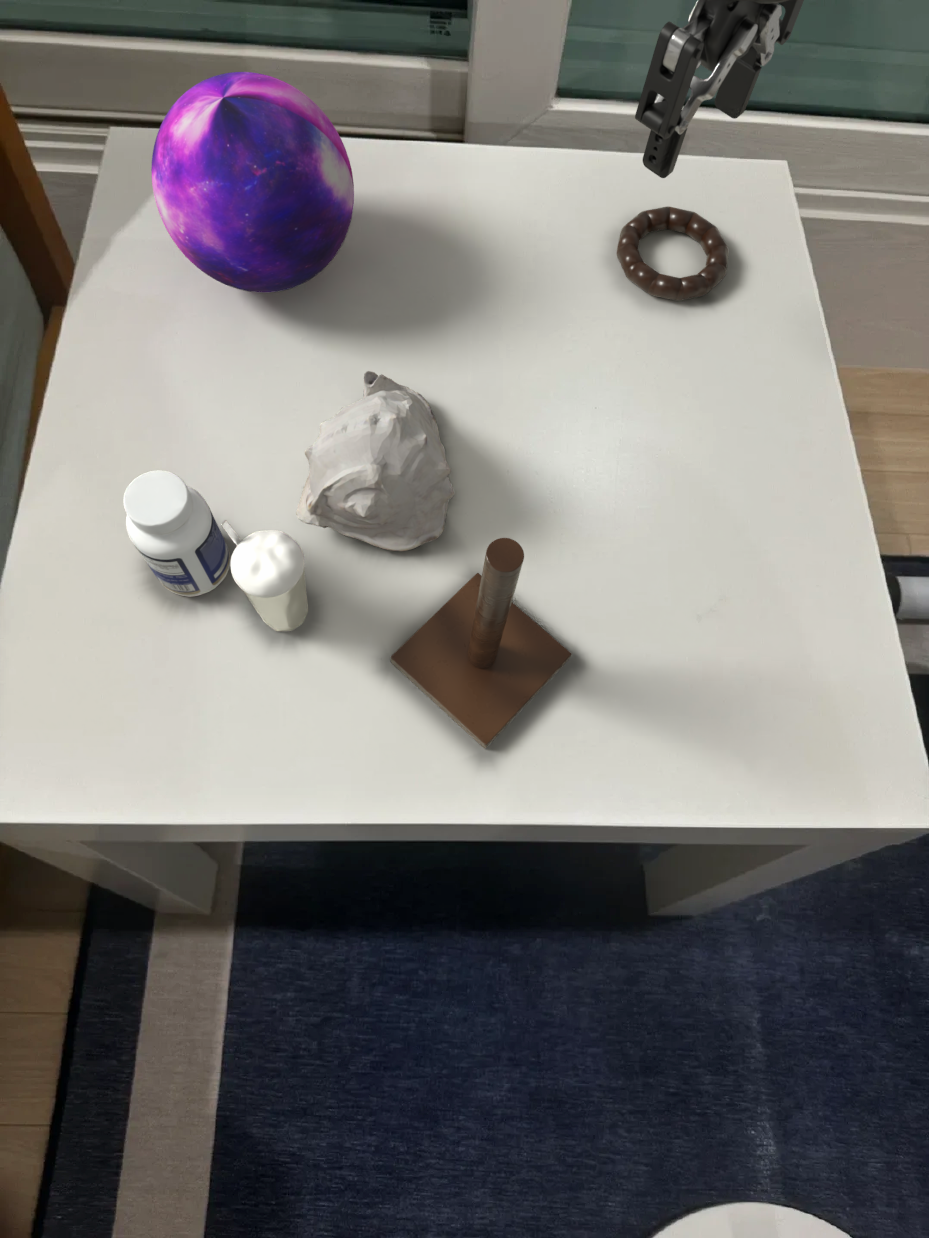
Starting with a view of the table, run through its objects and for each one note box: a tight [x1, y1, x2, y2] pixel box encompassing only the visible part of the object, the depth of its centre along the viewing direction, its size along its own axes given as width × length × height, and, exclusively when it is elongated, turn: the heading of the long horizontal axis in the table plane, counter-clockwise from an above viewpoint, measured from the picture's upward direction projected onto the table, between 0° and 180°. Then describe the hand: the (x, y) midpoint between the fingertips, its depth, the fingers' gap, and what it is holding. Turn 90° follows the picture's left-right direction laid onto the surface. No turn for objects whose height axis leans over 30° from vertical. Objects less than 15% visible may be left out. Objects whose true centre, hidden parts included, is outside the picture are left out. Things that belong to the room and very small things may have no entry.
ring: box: [616, 206, 730, 302], centre depth 74 cm, size 10×10×2 cm
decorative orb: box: [150, 71, 355, 294], centre depth 65 cm, size 15×15×15 cm
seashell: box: [295, 370, 455, 552], centre depth 61 cm, size 12×14×10 cm
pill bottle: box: [122, 469, 231, 597], centre depth 57 cm, size 5×5×10 cm
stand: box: [389, 537, 573, 750], centre depth 52 cm, size 9×9×17 cm
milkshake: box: [220, 519, 309, 632], centre depth 56 cm, size 4×5×10 cm
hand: (692, 140), depth 61 cm, fingers open, 8 cm apart
